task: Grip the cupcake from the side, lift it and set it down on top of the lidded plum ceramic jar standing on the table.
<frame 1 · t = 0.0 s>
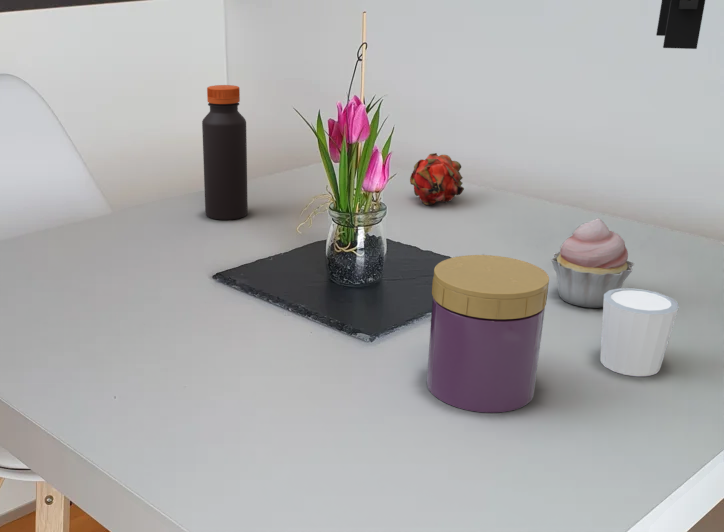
hand: (674, 41, 81), 30 cm above the table, tool pointing down, fingers open, 13 cm apart
bottle: (226, 215, 134), on the table
cupcake: (586, 300, 101), on the table
jar lid: (490, 278, 76), point 11 cm above the table, screwed on, not yet turned
shot glass: (629, 365, 84), on the table
dragon fruit: (435, 202, 141), on the table
jar: (479, 386, 80), on the table
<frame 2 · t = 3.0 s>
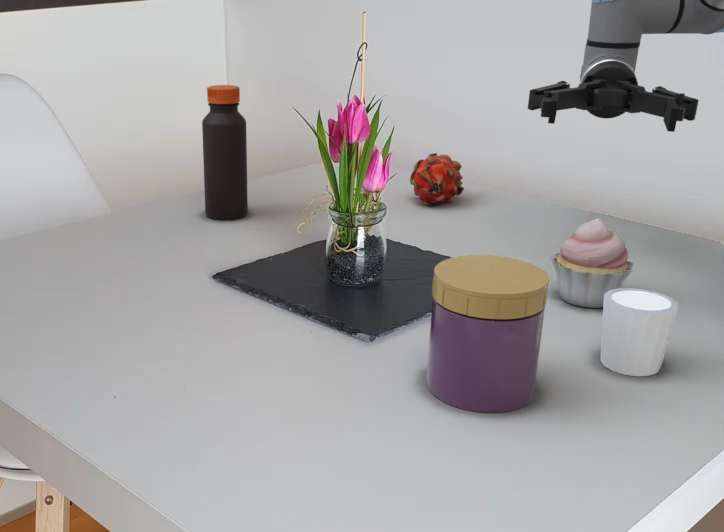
hand: (611, 116, 101), 20 cm above the table, tool horizontal, fingers open, 13 cm apart
nothing on the table moved.
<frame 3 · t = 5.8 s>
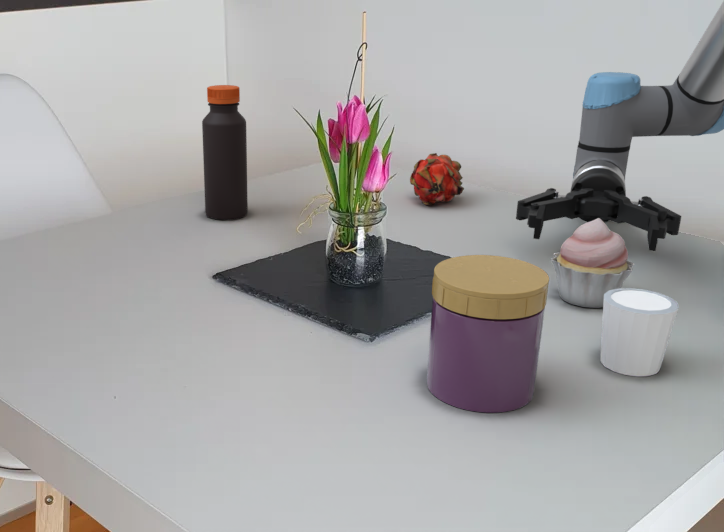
hand: (594, 234, 104), 6 cm above the table, tool horizontal, fingers open, 13 cm apart
nothing on the table moved.
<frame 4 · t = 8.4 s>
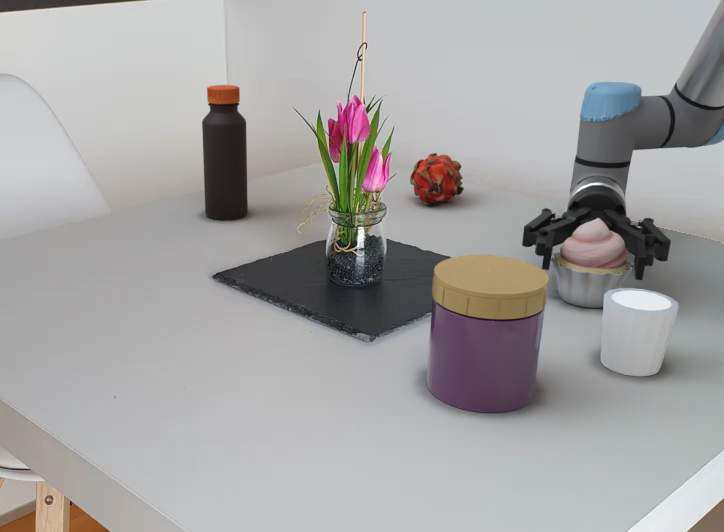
hand: (592, 263, 94), 6 cm above the table, tool horizontal, fingers closed on cupcake, 9 cm apart
cupcake: (586, 300, 101), on the table, touching gripper
everything else where it was.
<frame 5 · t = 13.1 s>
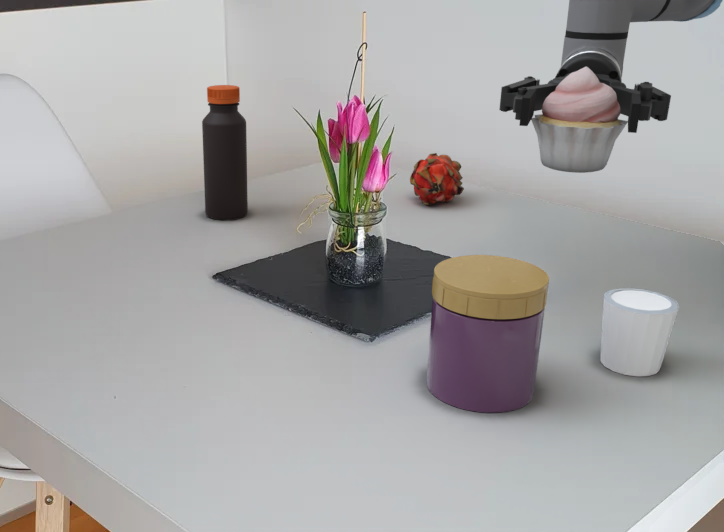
hand: (578, 115, 81), 24 cm above the table, tool horizontal, fingers closed on cupcake, 9 cm apart
cupcake: (572, 168, 87), point 18 cm above the table, touching gripper
everything else where it was.
when the fingers open (18 cm above the table, at t = 17.7 s): cupcake stays where it is, resting on jar lid.
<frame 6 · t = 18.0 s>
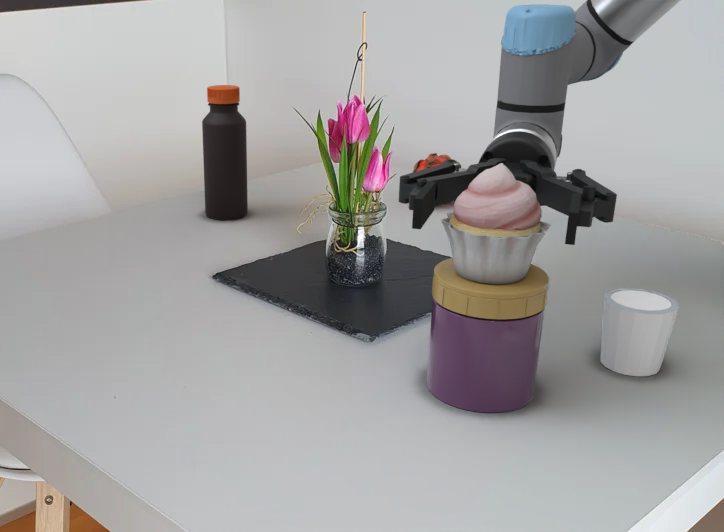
hand: (492, 221, 70), 18 cm above the table, tool horizontal, fingers open, 12 cm apart
cupcake: (489, 274, 76), point 11 cm above the table, touching jar lid
jar lid: (490, 278, 76), point 11 cm above the table, screwed on, not yet turned, touching cupcake
everything else where it was.
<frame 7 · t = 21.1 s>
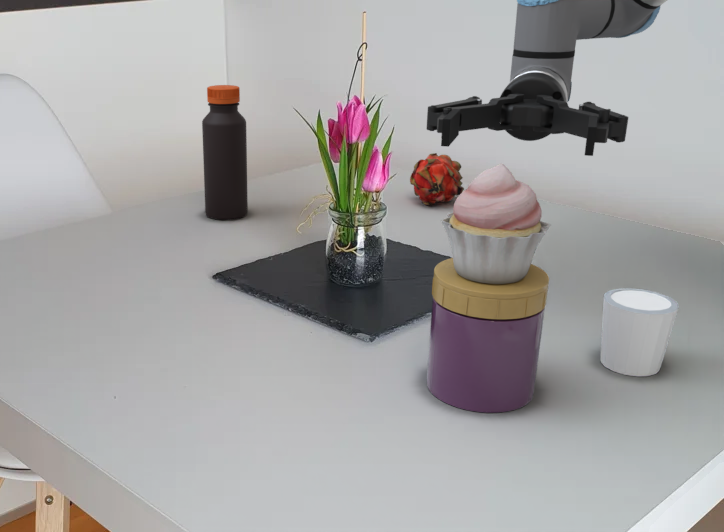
hand: (516, 137, 81), 22 cm above the table, tool horizontal, fingers open, 13 cm apart
nothing on the table moved.
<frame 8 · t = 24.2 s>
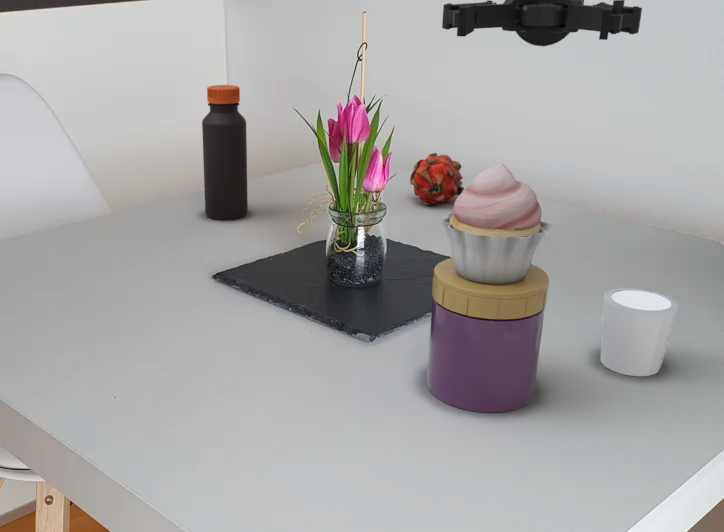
hand: (531, 23, 82), 32 cm above the table, tool horizontal, fingers open, 13 cm apart
nothing on the table moved.
at the end: cupcake 0.1 cm off-centre on the jar, point 11.4 cm above the jar's base; cupcake tilted 0°; the gripper is holding nothing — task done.
